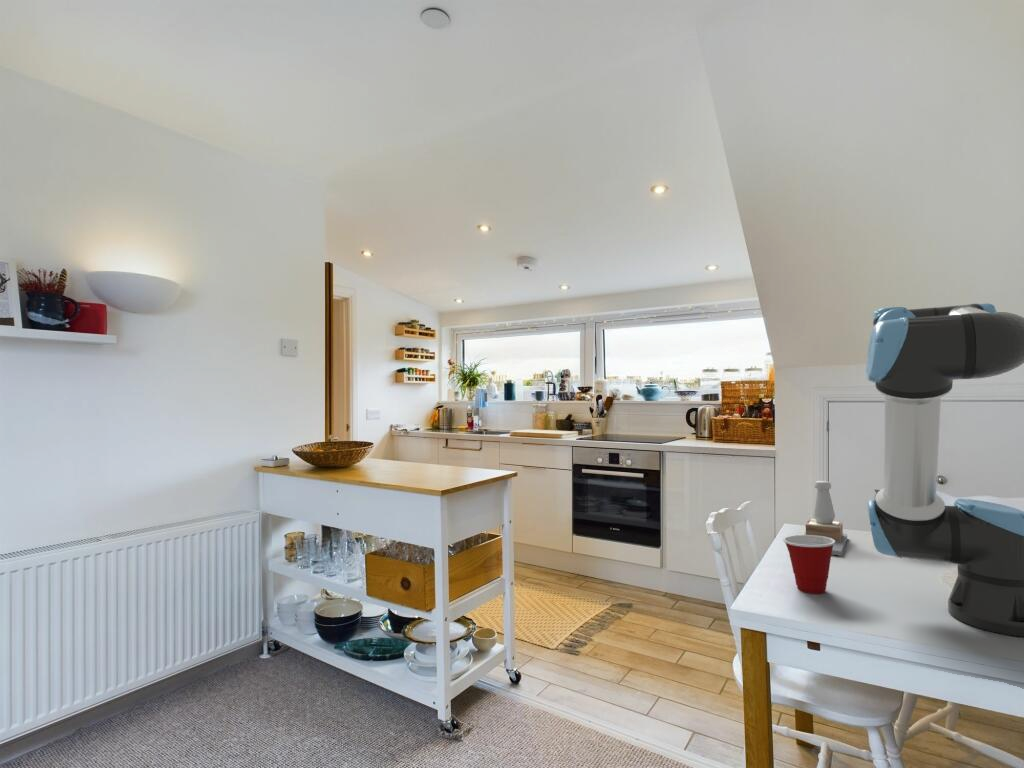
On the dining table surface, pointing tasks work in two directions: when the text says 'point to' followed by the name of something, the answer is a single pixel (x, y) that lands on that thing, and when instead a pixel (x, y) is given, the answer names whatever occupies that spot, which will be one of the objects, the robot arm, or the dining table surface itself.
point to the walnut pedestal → (825, 529)
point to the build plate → (839, 546)
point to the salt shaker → (823, 503)
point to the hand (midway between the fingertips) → (895, 447)
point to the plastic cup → (810, 561)
